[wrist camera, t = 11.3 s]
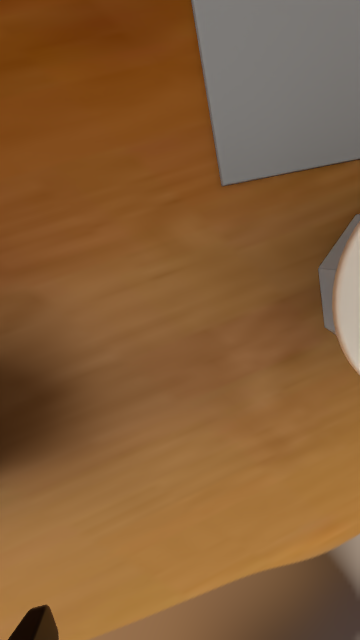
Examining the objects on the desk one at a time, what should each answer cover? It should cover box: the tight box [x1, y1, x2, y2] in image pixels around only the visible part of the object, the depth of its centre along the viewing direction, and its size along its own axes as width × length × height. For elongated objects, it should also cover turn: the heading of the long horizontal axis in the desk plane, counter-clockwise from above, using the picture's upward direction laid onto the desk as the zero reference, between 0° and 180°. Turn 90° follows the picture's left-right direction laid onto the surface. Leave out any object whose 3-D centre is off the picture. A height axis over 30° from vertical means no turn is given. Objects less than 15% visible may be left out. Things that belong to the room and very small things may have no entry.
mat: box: [191, 0, 360, 186], centre depth 18 cm, size 15×15×1 cm
